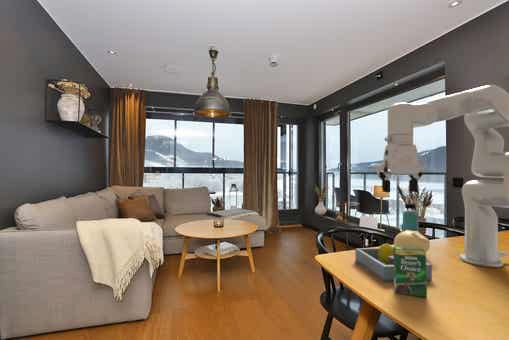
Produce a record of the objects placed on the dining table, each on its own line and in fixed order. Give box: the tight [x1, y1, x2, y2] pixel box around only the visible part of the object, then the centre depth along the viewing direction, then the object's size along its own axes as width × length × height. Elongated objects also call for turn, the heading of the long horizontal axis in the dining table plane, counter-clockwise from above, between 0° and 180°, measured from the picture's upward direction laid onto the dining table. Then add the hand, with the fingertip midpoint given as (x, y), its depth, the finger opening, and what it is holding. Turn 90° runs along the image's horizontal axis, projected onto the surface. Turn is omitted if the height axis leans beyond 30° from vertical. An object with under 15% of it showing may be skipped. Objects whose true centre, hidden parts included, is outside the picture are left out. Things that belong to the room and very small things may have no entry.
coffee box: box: [392, 246, 428, 298], centre depth 74 cm, size 8×3×13 cm, turn 69°
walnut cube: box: [388, 256, 394, 265], centre depth 86 cm, size 5×5×5 cm
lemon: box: [378, 242, 394, 265], centre depth 94 cm, size 6×6×8 cm
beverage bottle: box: [402, 203, 420, 232], centre depth 118 cm, size 6×7×20 cm
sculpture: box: [393, 230, 431, 253], centre depth 105 cm, size 12×12×11 cm
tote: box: [354, 247, 433, 283], centre depth 91 cm, size 16×18×5 cm
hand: (399, 191), depth 86 cm, fingers open, 9 cm apart
